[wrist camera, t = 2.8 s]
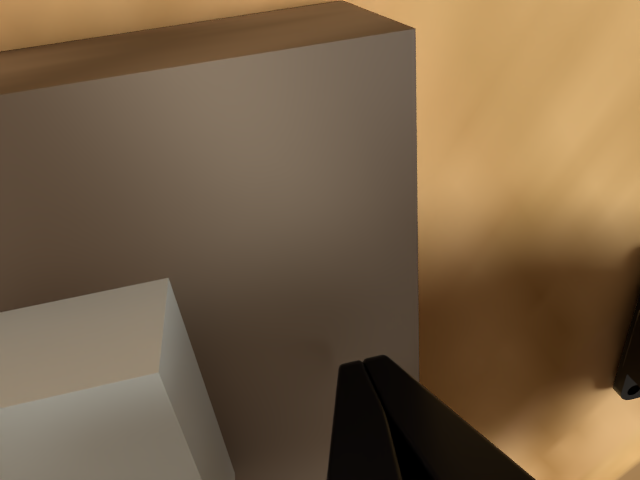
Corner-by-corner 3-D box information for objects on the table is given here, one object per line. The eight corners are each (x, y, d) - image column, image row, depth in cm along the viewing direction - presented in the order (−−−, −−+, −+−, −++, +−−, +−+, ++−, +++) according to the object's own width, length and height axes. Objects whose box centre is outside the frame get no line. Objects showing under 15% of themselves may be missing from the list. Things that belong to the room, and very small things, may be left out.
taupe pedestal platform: (342, 0, 10) (415, 28, 6) (383, 508, 19) (421, 628, 16) (-210, 82, 9) (-469, 169, 5) (121, 579, 18) (102, 723, 15)
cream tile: (168, 277, 8) (158, 372, 6) (234, 473, 10) (240, 577, 9) (-188, 350, 7) (-311, 478, 5) (-21, 537, 10) (-69, 663, 8)
